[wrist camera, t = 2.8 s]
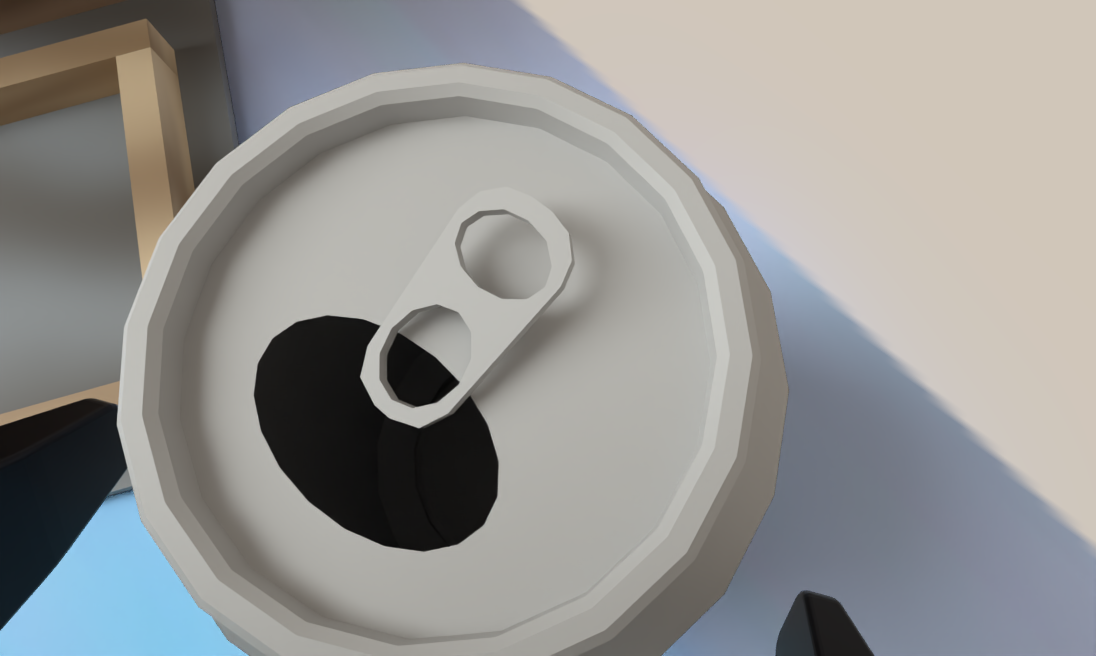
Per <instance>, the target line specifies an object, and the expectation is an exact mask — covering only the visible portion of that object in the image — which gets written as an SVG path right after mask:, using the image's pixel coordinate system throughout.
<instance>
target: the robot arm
mask: <svg viewBox="0 0 1096 656" xmlns="http://www.w3.org/2000/svg"><path fill="white" fill-rule="evenodd" d="M117 414H118V405H117V404H114V403H110V402H106V401H103V400H99V399H95V398H87V399H83V400H80V401H76V402H73V403H70V404H67V405H64V406H61V407H58V408H54V409H51V410H48V411H45V412H42V413H39V414H36V415H33V416H29V417H26V418H23V419H20V420H17V421H14V422H11V423H7V424H4V425H1V426H0V631H1V629H2V628H3V627H4V626H5V625H6V624H7V623H8V621H9V620H10V619H11V618H12V617H13V616H14V614H15V613H16V612H17V611H18V610H19V609H20V608H21V606H22V605H23V604H24V603H25V602H26V601H27V600H28V598H29V597H30V596H31V595H32V594H33V593H34V592H35V590H36V589H37V588H38V587H39V586H40V585H41V584H42V582H43V581H44V580H45V579H46V578H47V577H48V575H49V574H50V573H51V572H52V571H53V569H54V568H55V567H56V566H57V565H58V563H59V562H60V561H61V559H62V558H63V557H64V555H65V554H66V553H67V551H68V550H69V549H70V547H71V546H72V545H73V543H74V542H75V541H76V539H77V538H78V536H79V535H80V534H81V532H82V531H83V530H84V528H85V527H86V525H87V524H88V523H89V521H90V520H91V518H92V517H93V516H94V514H95V513H96V512H97V510H98V509H99V507H100V506H101V505H102V503H103V502H104V500H105V499H106V498H107V496H108V495H109V494H110V492H111V491H112V489H113V488H114V487H115V485H116V484H117V482H118V481H119V480H120V478H121V477H122V476H123V474H124V473H125V471H126V470H127V468H128V467H127V463H126V459H125V455H124V451H123V447H122V443H121V439H120V435H119V432H118V428H117ZM775 656H874V654H873V653H872V651H871V650H870V648H869V647H868V645H867V644H866V642H865V640H864V639H863V637H862V636H861V634H860V633H859V631H858V630H857V628H856V626H855V625H854V623H853V622H852V620H851V619H850V617H849V616H848V614H847V612H846V611H845V609H844V608H843V606H842V605H841V604H840V602H839V601H837V600H836V599H835V598H833V597H830V596H826V595H822V594H818V593H815V592H811V591H801V592H800V593H799V594H798V595H797V597H796V599H795V601H794V603H793V605H792V607H791V610H790V612H789V614H788V616H787V618H786V620H785V622H784V624H783V626H782V628H781V631H780V633H779V636H778V640H777V645H776V655H775Z"/></svg>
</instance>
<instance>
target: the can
mask: <svg viewBox="0 0 1096 656" xmlns="http://www.w3.org/2000/svg"><path fill="white" fill-rule="evenodd" d="M788 393H789V388H788V383H787V377H786V372H785V367H784V361H783V356H782V351H781V345H780V340H779V335H778V329H777V324H776V319H775V313H774V308H773V303H772V297H771V292H770V290H769V288H768V286H767V284H766V283H765V281H764V279H763V277H762V275H761V274H760V272H759V270H758V268H757V266H756V265H755V263H754V261H753V259H752V257H751V256H750V254H749V252H748V250H747V248H746V246H745V245H744V243H743V241H742V239H741V237H740V236H739V234H738V232H737V230H736V228H735V227H734V225H733V223H732V221H731V219H730V218H729V216H728V214H727V212H726V210H725V209H724V207H723V206H722V205H721V204H720V203H719V202H717V201H716V200H715V199H714V198H713V197H712V196H711V195H710V194H709V193H708V192H707V191H706V190H705V189H704V187H703V185H702V183H701V182H700V180H699V178H698V177H697V176H696V175H695V174H694V173H693V172H692V171H691V170H689V169H688V168H687V167H686V166H685V165H684V164H683V163H682V162H681V161H680V160H679V159H678V158H677V157H676V156H674V155H673V154H672V153H671V152H670V151H669V150H668V149H667V148H666V147H665V146H664V145H663V144H662V143H661V142H659V141H658V140H657V139H656V138H655V137H654V136H653V135H652V134H651V133H650V132H649V131H648V130H647V129H646V128H645V127H643V126H642V125H641V124H640V123H639V122H638V121H637V120H636V119H635V118H634V117H633V116H631V115H629V114H627V113H625V112H623V111H621V110H619V109H617V108H615V107H613V106H611V105H609V104H606V103H604V102H602V101H600V100H598V99H596V98H594V97H592V96H590V95H588V94H586V93H584V92H581V91H579V90H577V89H575V88H573V87H571V86H569V85H567V84H565V83H563V82H561V81H559V80H556V79H554V78H552V77H548V76H542V75H536V74H530V73H523V72H517V71H511V70H505V69H498V68H492V67H486V66H480V65H473V64H467V63H458V64H449V65H441V66H432V67H424V68H415V69H407V70H398V71H390V72H381V73H374V74H371V75H369V76H366V77H364V78H361V79H359V80H356V81H354V82H351V83H349V84H346V85H344V86H341V87H339V88H337V89H334V90H332V91H329V92H327V93H324V94H322V95H319V96H317V97H314V98H312V99H309V100H307V101H304V102H302V103H299V104H297V105H294V106H292V107H290V108H288V109H287V110H286V111H284V112H283V113H282V114H280V115H279V116H278V117H276V118H275V119H274V120H272V121H271V122H270V123H269V124H267V125H266V126H265V127H263V128H262V129H261V130H259V131H258V132H257V133H255V134H254V135H253V136H251V137H250V138H249V139H247V140H246V141H245V142H243V143H242V144H241V145H239V146H238V147H237V148H236V149H234V150H233V151H232V152H230V153H229V154H228V155H226V156H225V157H224V158H222V159H221V160H220V161H218V162H217V163H216V164H215V165H214V167H213V168H212V169H211V171H210V172H209V173H208V174H207V176H206V177H205V178H204V180H203V181H202V182H201V184H200V185H199V186H198V188H197V189H196V190H195V191H194V193H193V194H192V195H191V197H190V198H189V199H188V201H187V202H186V203H185V204H184V206H183V207H182V208H181V210H180V211H179V212H178V214H177V215H176V216H175V218H174V219H173V220H172V221H171V223H170V224H169V225H168V227H167V228H166V229H165V231H164V232H163V233H162V235H161V236H160V237H159V239H158V241H157V244H156V247H155V249H154V252H153V254H152V257H151V259H150V262H149V264H148V267H147V270H146V272H145V275H144V277H143V280H142V282H141V285H140V287H139V290H138V293H137V295H136V298H135V300H134V303H133V305H132V308H131V310H130V313H129V316H128V318H127V321H126V323H125V326H124V334H123V347H122V361H121V374H120V387H119V401H118V414H117V428H118V432H119V435H120V439H121V443H122V447H123V451H124V455H125V459H126V463H127V467H128V471H129V475H130V479H131V483H132V487H133V491H134V495H135V499H136V503H137V507H138V511H139V515H140V519H141V522H142V523H143V525H144V526H145V528H146V529H147V531H148V532H149V534H150V535H151V537H152V538H153V540H154V541H155V543H156V544H157V546H158V547H159V549H160V550H161V552H162V553H163V555H164V556H165V558H166V559H167V561H168V562H169V564H170V565H171V567H172V568H173V570H174V571H175V573H176V574H177V576H178V577H179V579H180V580H181V582H182V583H183V585H184V586H185V588H186V589H187V591H188V592H189V594H190V595H191V597H192V598H193V600H194V601H195V603H196V604H197V605H198V607H199V608H201V609H202V610H203V611H205V612H206V613H208V614H209V615H210V616H212V618H213V619H214V621H215V622H216V624H217V625H218V627H219V628H220V630H221V631H222V633H223V634H224V636H225V637H226V639H227V640H228V641H229V642H231V643H232V644H234V645H235V646H236V647H238V648H239V649H240V650H242V651H243V652H245V653H246V654H247V655H249V656H661V655H662V654H663V653H664V652H665V651H666V650H667V649H669V648H670V647H671V646H672V645H673V644H674V643H675V642H676V641H677V640H678V639H679V638H680V637H681V636H682V635H683V634H684V633H685V632H686V631H687V630H688V629H689V628H690V627H691V626H692V625H693V624H694V623H695V622H696V621H697V620H698V619H699V618H700V617H701V616H702V615H703V614H704V613H705V612H707V611H708V610H709V609H710V608H711V607H712V606H713V605H714V604H715V603H716V602H717V601H718V600H719V599H720V598H721V597H722V596H723V595H724V594H725V592H726V590H727V588H728V586H729V584H730V582H731V580H732V578H733V576H734V574H735V572H736V570H737V568H738V566H739V564H740V562H741V560H742V558H743V556H744V554H745V552H746V550H747V548H748V546H749V544H750V542H751V540H752V538H753V536H754V534H755V532H756V530H757V528H758V526H759V524H760V522H761V520H762V518H763V516H764V514H765V512H766V510H767V509H768V507H769V505H770V503H771V501H772V499H773V497H774V493H775V486H776V479H777V472H778V465H779V458H780V450H781V443H782V436H783V429H784V422H785V415H786V408H787V401H788Z"/></svg>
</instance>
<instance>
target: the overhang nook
mask: <svg viewBox="0 0 1096 656" xmlns="http://www.w3.org/2000/svg"><path fill="white" fill-rule="evenodd" d="M238 146H239V143H238V137H237V131H236V125H235V119H234V114H233V108H232V102H231V96H230V90H229V84H228V78H227V72H226V67H225V61H224V55H223V49H222V43H221V37H220V31H219V25H218V20H217V14H216V8H215V2H214V0H0V426H1V425H4V424H7V423H11V422H14V421H17V420H20V419H23V418H26V417H29V416H33V415H36V414H39V413H42V412H45V411H48V410H51V409H54V408H58V407H61V406H64V405H67V404H70V403H73V402H76V401H80V400H83V399H87V398H95V399H99V400H103V401H106V402H110V403H114V404H117V405H118V401H119V387H120V374H121V361H122V347H123V334H124V326H125V323H126V321H127V318H128V316H129V313H130V310H131V308H132V305H133V303H134V300H135V298H136V295H137V293H138V290H139V287H140V285H141V282H142V280H143V277H144V275H145V272H146V270H147V267H148V264H149V262H150V259H151V257H152V254H153V252H154V249H155V247H156V244H157V241H158V239H159V237H160V236H161V235H162V233H163V232H164V231H165V229H166V228H167V227H168V225H169V224H170V223H171V221H172V220H173V219H174V218H175V216H176V215H177V214H178V212H179V211H180V210H181V208H182V207H183V206H184V204H185V203H186V202H187V201H188V199H189V198H190V197H191V195H192V194H193V193H194V191H195V190H196V189H197V188H198V186H199V185H200V184H201V182H202V181H203V180H204V178H205V177H206V176H207V174H208V173H209V172H210V171H211V169H212V168H213V167H214V165H215V164H216V163H217V162H218V161H220V160H221V159H222V158H224V157H225V156H226V155H228V154H229V153H230V152H232V151H233V150H234V149H236V148H237V147H238ZM132 489H133V487H132V483H131V479H130V475H129V471H128V468H127V470H126V471H125V473H124V474H123V476H122V477H121V478H120V480H119V481H118V482H117V484H116V485H115V487H114V488H113V489H112V491H111V492H110V494H109V495H108V496H111V495H115V494H118V493H122V492H125V491H129V490H132Z"/></svg>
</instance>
